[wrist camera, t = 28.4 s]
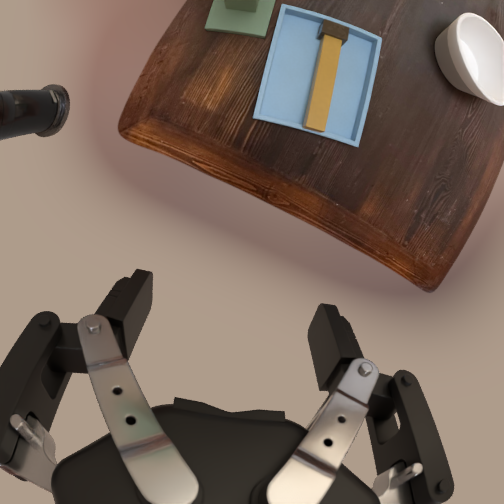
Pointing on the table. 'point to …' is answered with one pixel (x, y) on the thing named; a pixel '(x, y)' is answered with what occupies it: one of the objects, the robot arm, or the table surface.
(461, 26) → the bowl
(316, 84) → the brass bolt
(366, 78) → the tray
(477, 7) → the table surface
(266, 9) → the stand
